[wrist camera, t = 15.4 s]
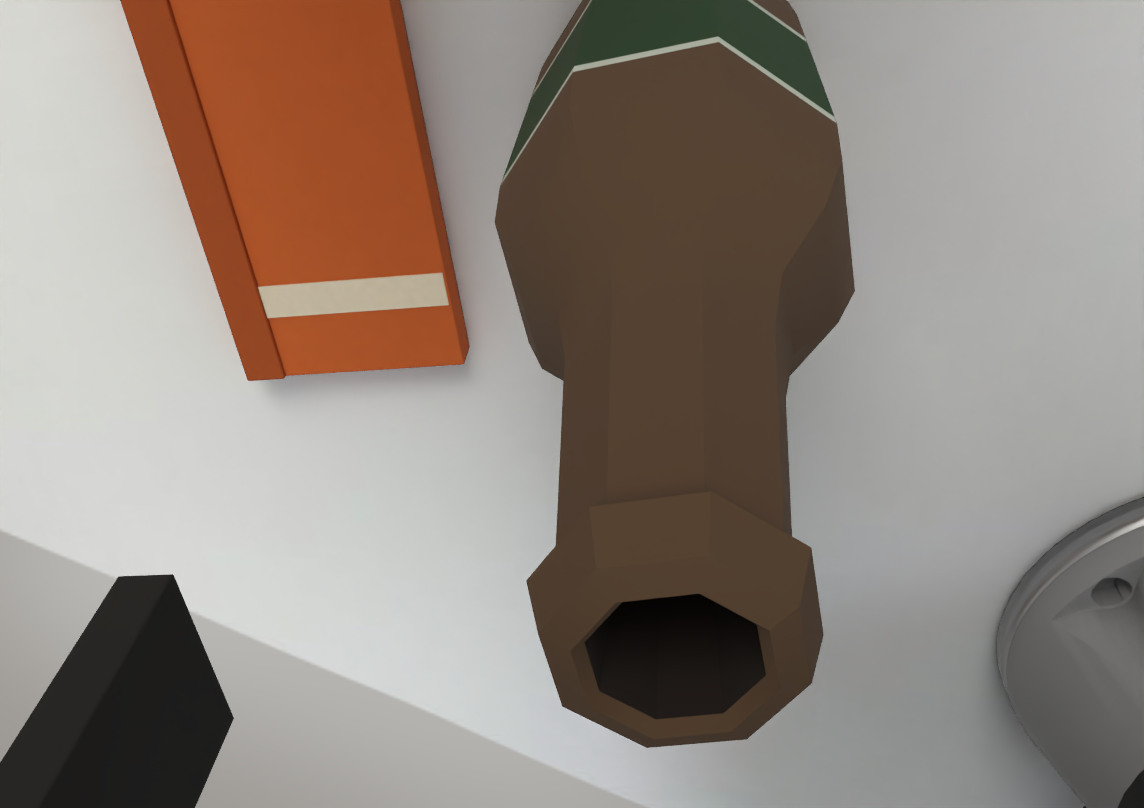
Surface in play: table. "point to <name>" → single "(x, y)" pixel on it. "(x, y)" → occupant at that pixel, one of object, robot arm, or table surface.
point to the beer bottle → (677, 353)
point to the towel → (307, 179)
